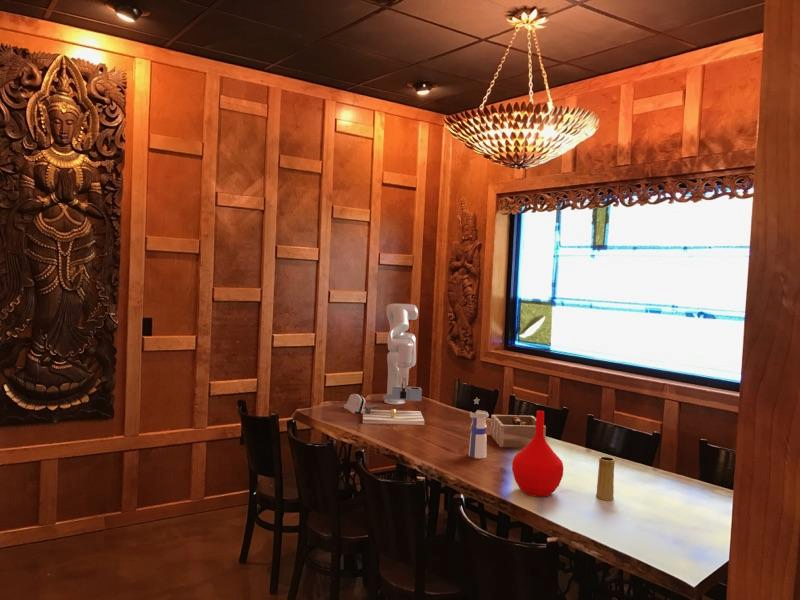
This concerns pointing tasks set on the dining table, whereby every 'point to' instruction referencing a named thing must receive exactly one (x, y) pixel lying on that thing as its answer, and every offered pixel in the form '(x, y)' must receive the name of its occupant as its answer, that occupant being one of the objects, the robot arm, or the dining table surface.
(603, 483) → the vase
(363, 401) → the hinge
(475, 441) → the water bottle
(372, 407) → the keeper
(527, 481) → the vase
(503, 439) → the box
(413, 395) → the link
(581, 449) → the dining table surface
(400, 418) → the board
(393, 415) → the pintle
